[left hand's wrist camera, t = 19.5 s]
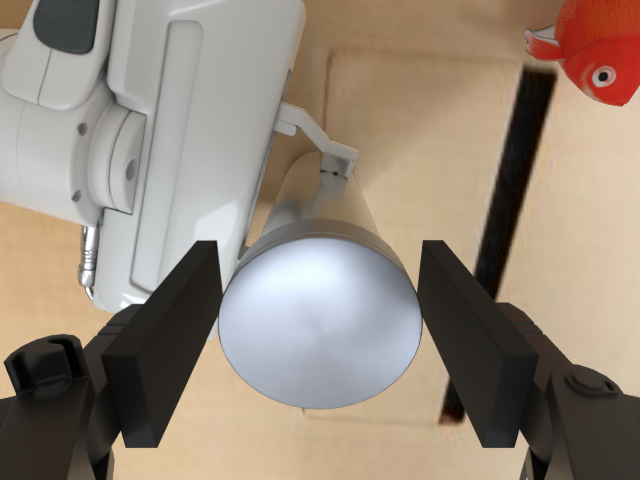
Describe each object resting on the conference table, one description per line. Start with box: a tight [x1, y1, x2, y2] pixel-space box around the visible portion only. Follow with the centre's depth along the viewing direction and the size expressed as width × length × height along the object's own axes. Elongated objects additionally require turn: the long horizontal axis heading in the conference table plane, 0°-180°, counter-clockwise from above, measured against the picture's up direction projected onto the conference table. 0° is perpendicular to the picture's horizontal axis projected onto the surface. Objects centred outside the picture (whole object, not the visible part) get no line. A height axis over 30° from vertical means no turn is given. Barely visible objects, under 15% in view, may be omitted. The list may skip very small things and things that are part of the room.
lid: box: [218, 218, 423, 409], centre depth 11 cm, size 6×6×2 cm
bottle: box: [259, 151, 380, 239], centre depth 19 cm, size 5×5×17 cm
